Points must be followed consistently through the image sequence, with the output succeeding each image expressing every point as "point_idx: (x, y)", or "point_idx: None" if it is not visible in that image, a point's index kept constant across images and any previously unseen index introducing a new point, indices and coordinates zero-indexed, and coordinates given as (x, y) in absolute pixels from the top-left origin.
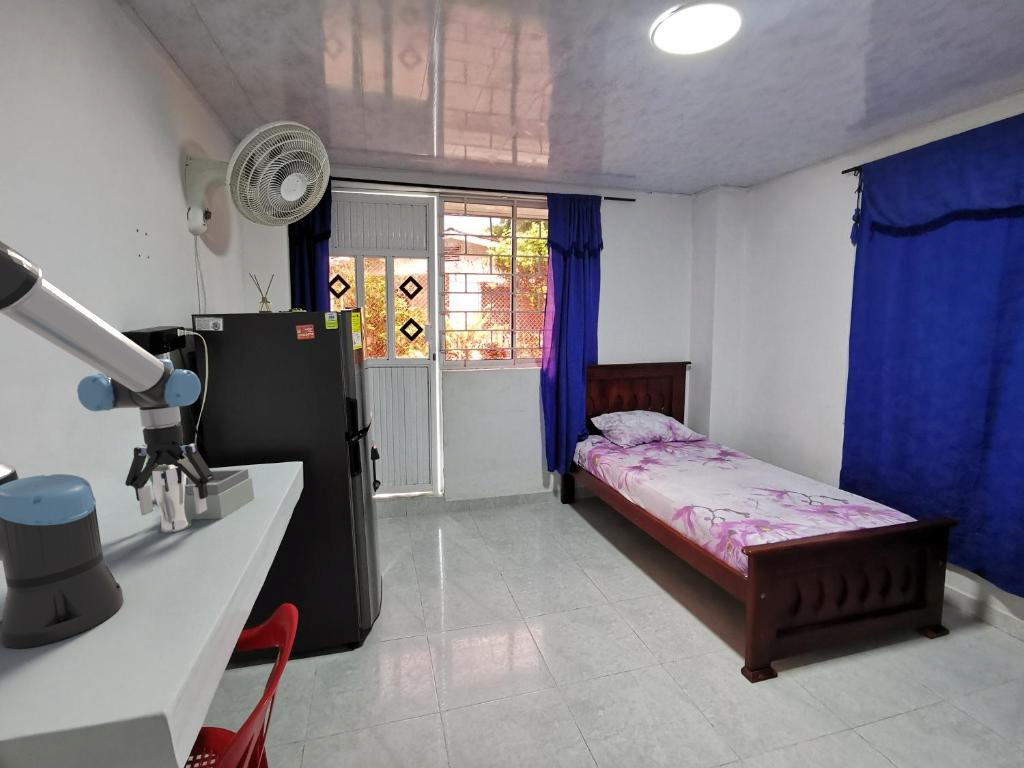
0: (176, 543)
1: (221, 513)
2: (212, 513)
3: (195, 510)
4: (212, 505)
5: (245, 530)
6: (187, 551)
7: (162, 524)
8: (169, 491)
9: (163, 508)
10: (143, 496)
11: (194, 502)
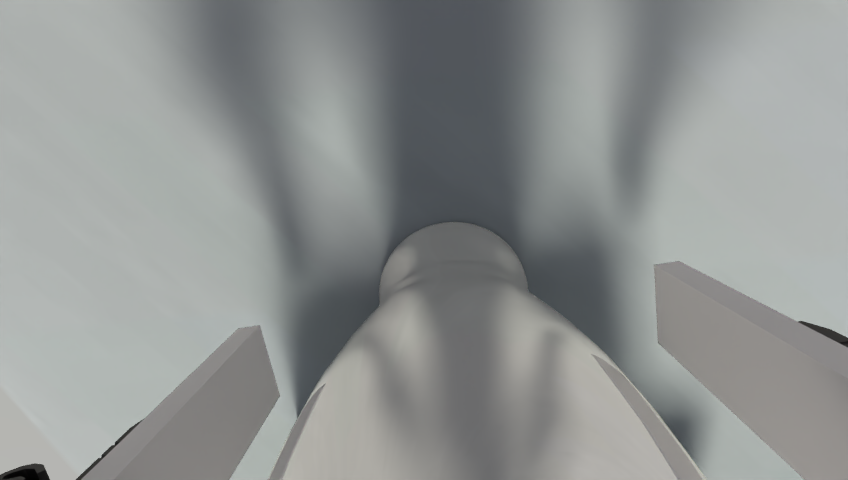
0: (245, 104)
1: None
2: None
3: None
4: None
5: (18, 300)
6: (71, 17)
7: (482, 242)
8: (341, 358)
9: (452, 271)
10: (761, 349)
11: None
